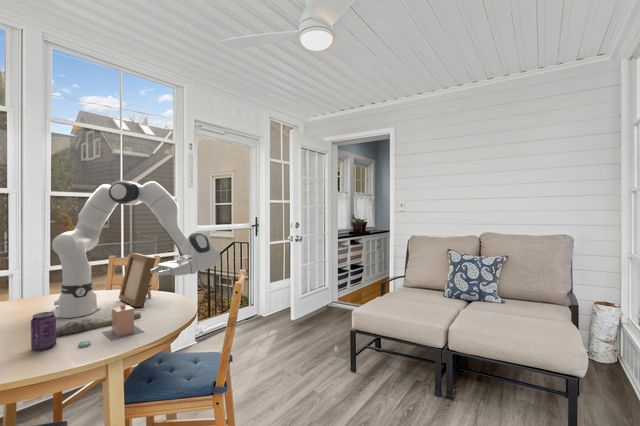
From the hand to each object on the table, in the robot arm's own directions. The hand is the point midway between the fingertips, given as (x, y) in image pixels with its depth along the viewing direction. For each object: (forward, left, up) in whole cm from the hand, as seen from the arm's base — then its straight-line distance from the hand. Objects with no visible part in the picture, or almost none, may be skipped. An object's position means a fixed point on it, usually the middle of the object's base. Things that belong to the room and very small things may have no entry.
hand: (155, 272), depth 146 cm
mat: (0, -13, -23) cm, 26 cm away
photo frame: (-41, +10, -23) cm, 48 cm away
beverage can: (-6, -37, -23) cm, 43 cm away
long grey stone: (-16, -18, -23) cm, 33 cm away
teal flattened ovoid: (+4, -27, -23) cm, 35 cm away
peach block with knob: (0, -13, -22) cm, 25 cm away
